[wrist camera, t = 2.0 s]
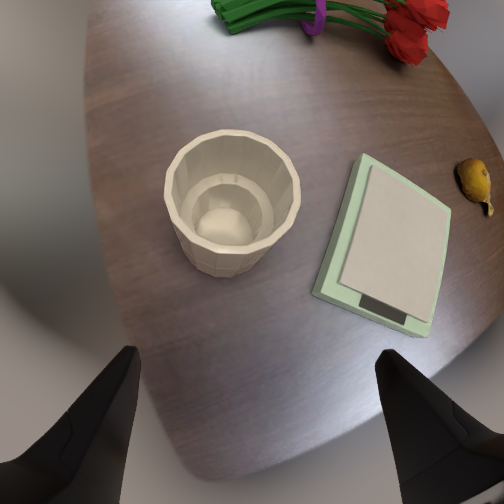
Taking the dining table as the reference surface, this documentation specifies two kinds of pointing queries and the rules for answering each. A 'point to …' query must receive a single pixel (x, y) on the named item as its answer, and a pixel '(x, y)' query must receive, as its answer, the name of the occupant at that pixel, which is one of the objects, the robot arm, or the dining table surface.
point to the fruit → (475, 181)
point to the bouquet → (395, 21)
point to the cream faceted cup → (230, 199)
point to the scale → (386, 250)
